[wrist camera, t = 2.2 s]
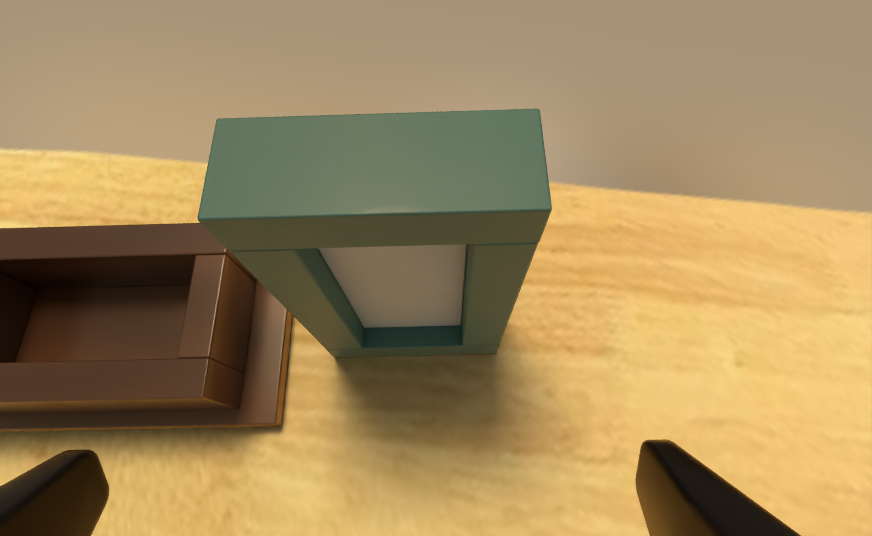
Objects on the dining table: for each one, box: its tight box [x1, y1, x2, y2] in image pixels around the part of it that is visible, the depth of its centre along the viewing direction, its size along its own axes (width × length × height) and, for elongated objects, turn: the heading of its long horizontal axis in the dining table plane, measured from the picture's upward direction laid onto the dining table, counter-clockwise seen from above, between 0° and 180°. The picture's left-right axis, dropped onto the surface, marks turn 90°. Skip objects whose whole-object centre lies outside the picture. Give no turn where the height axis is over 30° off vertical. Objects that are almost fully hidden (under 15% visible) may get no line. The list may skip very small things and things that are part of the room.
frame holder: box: [0, 223, 292, 432], centre depth 20 cm, size 8×14×4 cm, turn 91°
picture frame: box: [198, 109, 552, 357], centre depth 16 cm, size 2×7×12 cm, turn 91°
